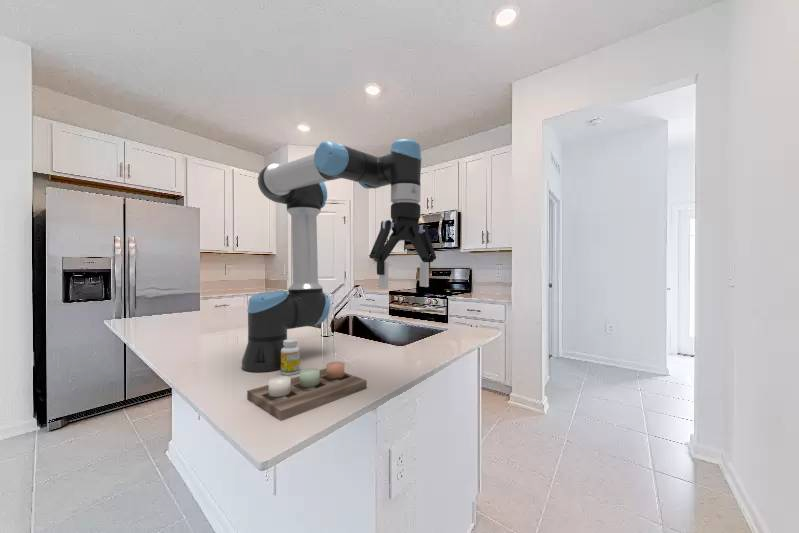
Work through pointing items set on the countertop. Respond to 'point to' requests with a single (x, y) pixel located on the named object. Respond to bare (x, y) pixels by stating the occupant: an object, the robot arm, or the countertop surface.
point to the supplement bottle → (290, 357)
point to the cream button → (279, 386)
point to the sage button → (309, 377)
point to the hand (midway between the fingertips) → (404, 287)
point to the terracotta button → (335, 369)
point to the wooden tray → (306, 395)
